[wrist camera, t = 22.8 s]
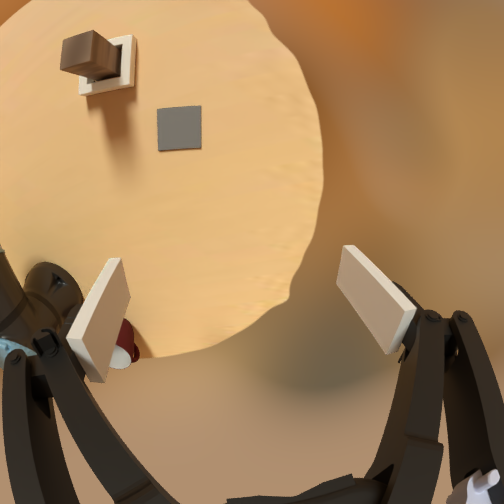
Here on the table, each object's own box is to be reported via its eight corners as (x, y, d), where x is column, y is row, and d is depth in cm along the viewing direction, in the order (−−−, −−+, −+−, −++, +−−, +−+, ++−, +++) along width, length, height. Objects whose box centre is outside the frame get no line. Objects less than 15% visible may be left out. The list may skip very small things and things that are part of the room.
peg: (97, 81, 32) (59, 69, 20) (98, 57, 30) (63, 39, 18) (121, 76, 33) (90, 60, 21) (123, 52, 31) (93, 29, 19)
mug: (154, 332, 56) (149, 366, 47) (133, 347, 57) (126, 379, 49) (118, 303, 52) (107, 336, 43) (99, 321, 53) (87, 352, 44)
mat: (158, 150, 40) (158, 150, 40) (157, 109, 37) (157, 108, 37) (201, 147, 41) (201, 147, 41) (200, 105, 38) (200, 105, 38)
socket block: (85, 96, 33) (78, 95, 30) (88, 50, 29) (81, 46, 26) (134, 86, 34) (129, 84, 32) (136, 39, 30) (132, 34, 28)
